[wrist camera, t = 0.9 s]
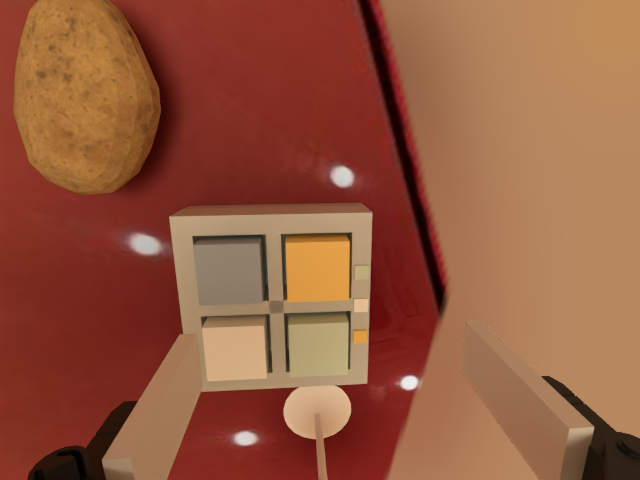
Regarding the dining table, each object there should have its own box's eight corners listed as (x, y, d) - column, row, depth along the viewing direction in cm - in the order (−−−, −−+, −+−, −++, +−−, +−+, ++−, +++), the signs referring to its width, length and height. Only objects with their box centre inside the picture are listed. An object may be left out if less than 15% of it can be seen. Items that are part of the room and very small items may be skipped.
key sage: (290, 359, 33) (290, 377, 30) (289, 310, 32) (288, 324, 29) (343, 357, 33) (347, 374, 31) (344, 308, 32) (348, 322, 29)
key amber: (288, 289, 31) (287, 302, 29) (286, 234, 30) (285, 242, 27) (344, 288, 31) (348, 300, 29) (345, 233, 30) (349, 241, 28)
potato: (182, 24, 29) (141, -21, 21) (172, 194, 32) (133, 210, 25) (55, -1, 28) (-37, -57, 20) (59, 177, 31) (-19, 188, 24)
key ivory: (214, 363, 33) (207, 381, 30) (209, 313, 31) (201, 328, 29) (268, 360, 33) (266, 378, 30) (266, 311, 32) (263, 325, 29)
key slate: (207, 292, 31) (199, 305, 28) (201, 236, 29) (193, 245, 27) (265, 290, 31) (262, 303, 29) (262, 235, 30) (259, 243, 27)
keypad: (204, 358, 37) (189, 394, 31) (188, 205, 33) (167, 217, 27) (357, 351, 38) (367, 385, 32) (361, 202, 34) (373, 213, 28)
